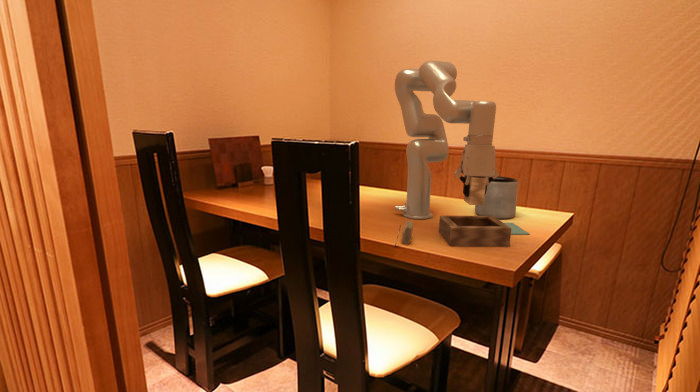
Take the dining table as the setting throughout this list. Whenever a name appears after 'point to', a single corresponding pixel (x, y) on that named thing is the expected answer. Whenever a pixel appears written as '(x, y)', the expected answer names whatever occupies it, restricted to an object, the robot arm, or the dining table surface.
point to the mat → (516, 229)
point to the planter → (499, 198)
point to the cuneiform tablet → (406, 232)
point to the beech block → (476, 191)
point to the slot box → (474, 231)
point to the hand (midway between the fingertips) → (474, 195)
